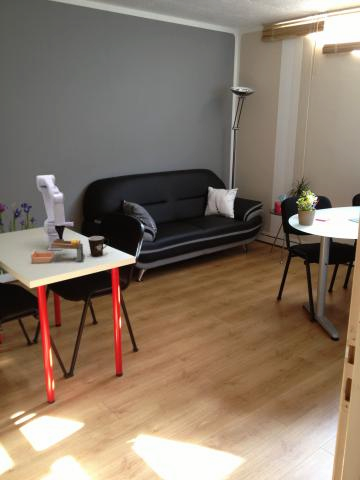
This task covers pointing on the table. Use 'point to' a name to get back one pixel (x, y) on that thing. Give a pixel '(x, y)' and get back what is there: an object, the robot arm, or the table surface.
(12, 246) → the table surface
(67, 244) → the tipping chute
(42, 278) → the table surface
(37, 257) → the tray
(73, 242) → the ball
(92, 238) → the coffee mug
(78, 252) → the pivot stand
